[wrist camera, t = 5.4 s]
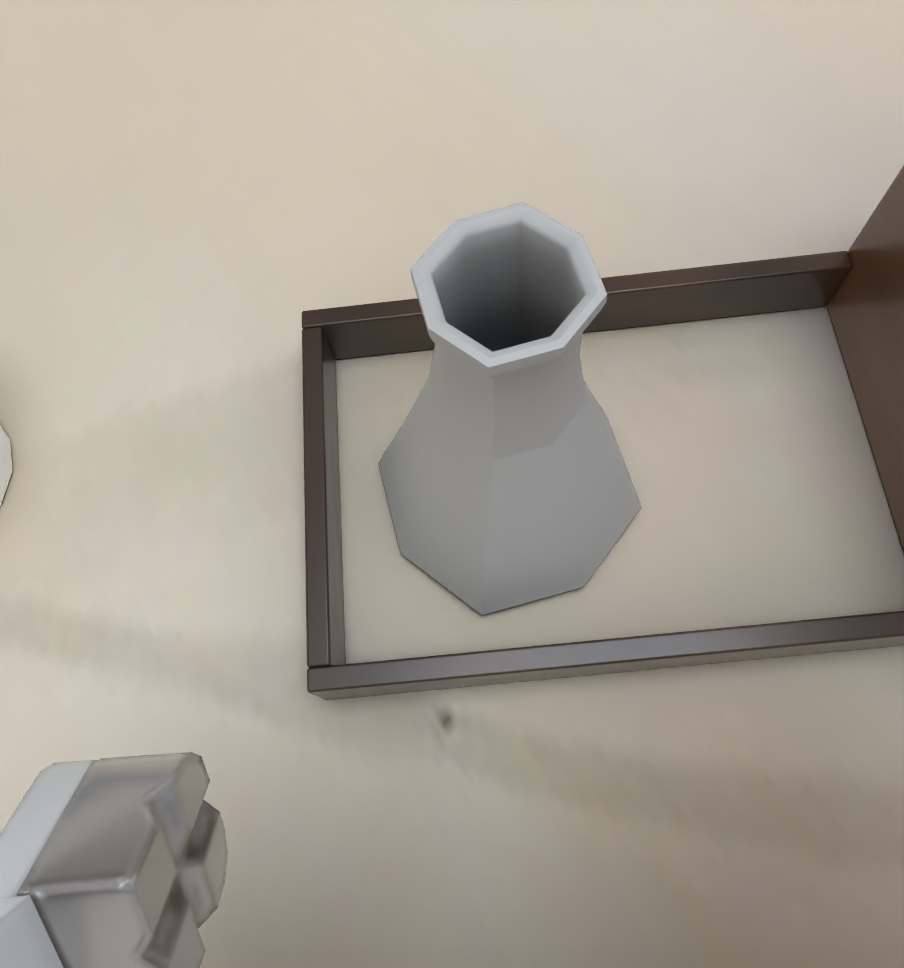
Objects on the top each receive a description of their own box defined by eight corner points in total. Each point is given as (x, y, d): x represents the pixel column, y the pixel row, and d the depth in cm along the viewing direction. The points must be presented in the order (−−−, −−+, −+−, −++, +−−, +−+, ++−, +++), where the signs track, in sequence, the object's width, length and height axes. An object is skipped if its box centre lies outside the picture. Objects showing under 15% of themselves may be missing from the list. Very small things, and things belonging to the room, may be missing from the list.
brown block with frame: (1147, 254, 24) (1482, -18, 16) (1326, 605, 20) (1902, 484, 12) (316, 346, 24) (222, 131, 16) (324, 700, 20) (206, 649, 12)
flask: (338, 460, 23) (223, 243, 14) (535, 338, 24) (553, 59, 15) (473, 663, 21) (445, 568, 11) (685, 518, 22) (821, 320, 12)
